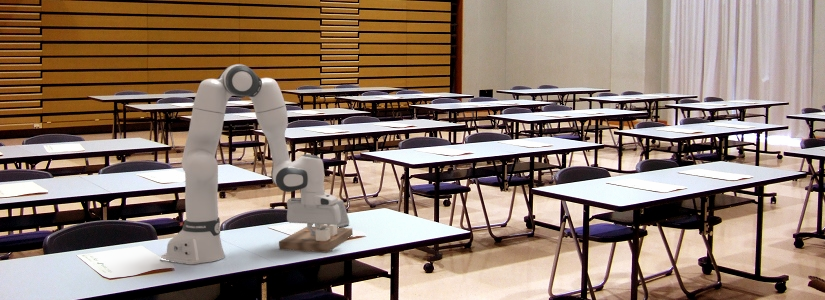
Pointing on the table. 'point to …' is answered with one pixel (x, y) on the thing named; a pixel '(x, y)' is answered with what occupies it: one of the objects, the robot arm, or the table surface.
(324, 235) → the switch front
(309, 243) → the switch housing
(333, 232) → the switch middle
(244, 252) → the table surface
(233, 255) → the table surface
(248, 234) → the table surface
